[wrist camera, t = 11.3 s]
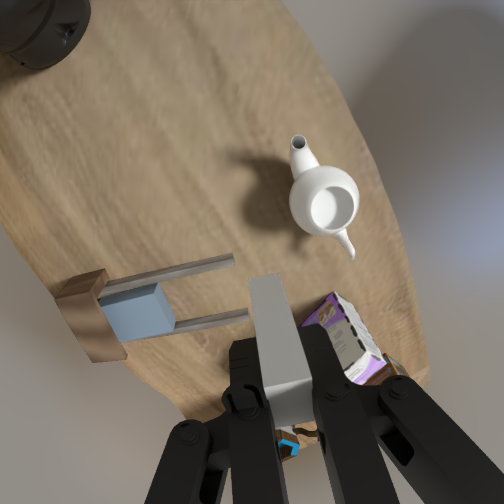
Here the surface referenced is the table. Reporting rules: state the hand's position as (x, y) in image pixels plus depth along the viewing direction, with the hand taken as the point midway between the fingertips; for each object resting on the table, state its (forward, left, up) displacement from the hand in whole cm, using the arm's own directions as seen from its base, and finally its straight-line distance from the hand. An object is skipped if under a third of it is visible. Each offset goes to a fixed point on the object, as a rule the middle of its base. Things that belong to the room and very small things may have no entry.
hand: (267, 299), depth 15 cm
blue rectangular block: (+17, -23, -31) cm, 42 cm away
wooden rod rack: (+16, -19, -30) cm, 39 cm away
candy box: (+29, +8, -31) cm, 43 cm away
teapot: (+4, +10, -31) cm, 33 cm away
